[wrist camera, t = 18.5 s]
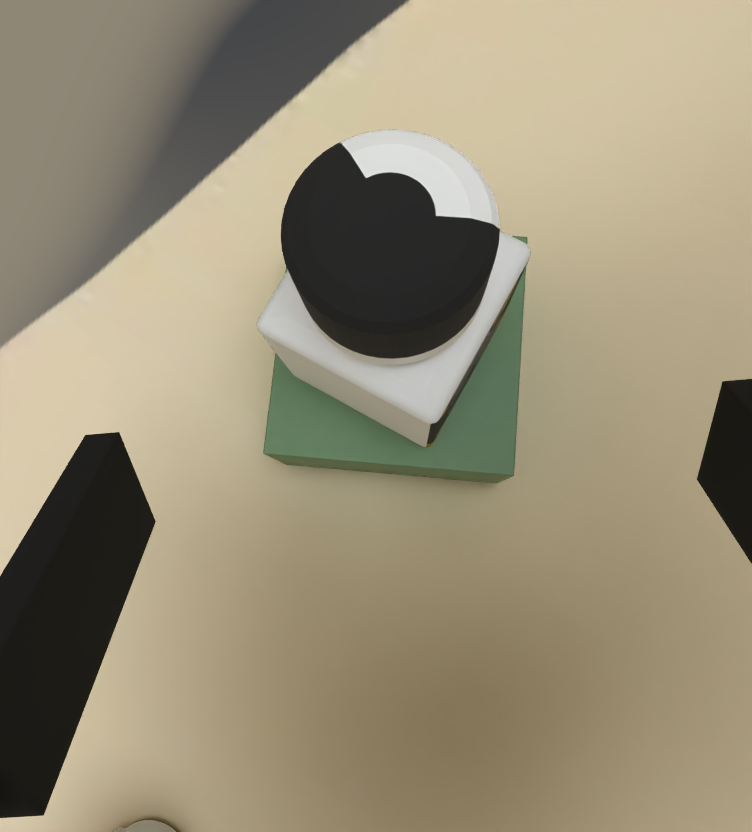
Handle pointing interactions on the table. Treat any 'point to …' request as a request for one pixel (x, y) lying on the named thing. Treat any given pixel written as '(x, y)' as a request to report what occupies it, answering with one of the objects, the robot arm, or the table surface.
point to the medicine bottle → (391, 278)
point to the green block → (393, 453)
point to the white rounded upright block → (146, 827)
